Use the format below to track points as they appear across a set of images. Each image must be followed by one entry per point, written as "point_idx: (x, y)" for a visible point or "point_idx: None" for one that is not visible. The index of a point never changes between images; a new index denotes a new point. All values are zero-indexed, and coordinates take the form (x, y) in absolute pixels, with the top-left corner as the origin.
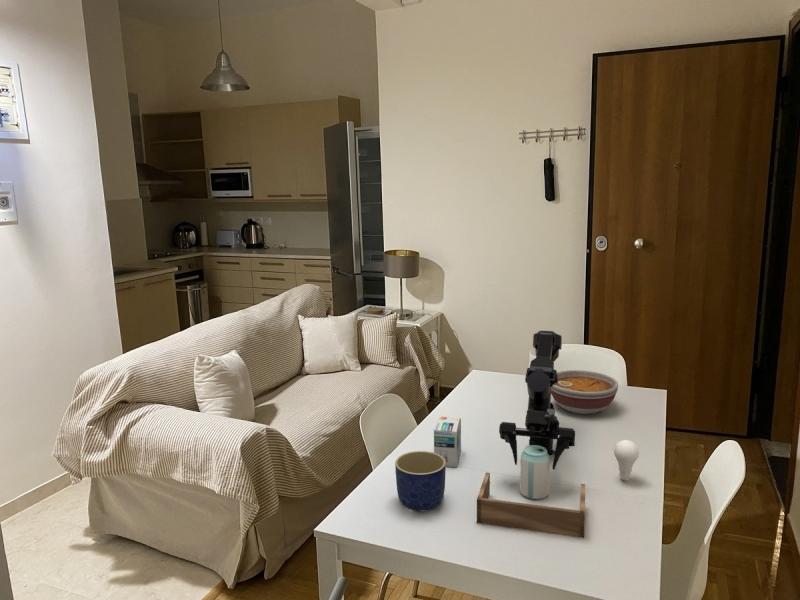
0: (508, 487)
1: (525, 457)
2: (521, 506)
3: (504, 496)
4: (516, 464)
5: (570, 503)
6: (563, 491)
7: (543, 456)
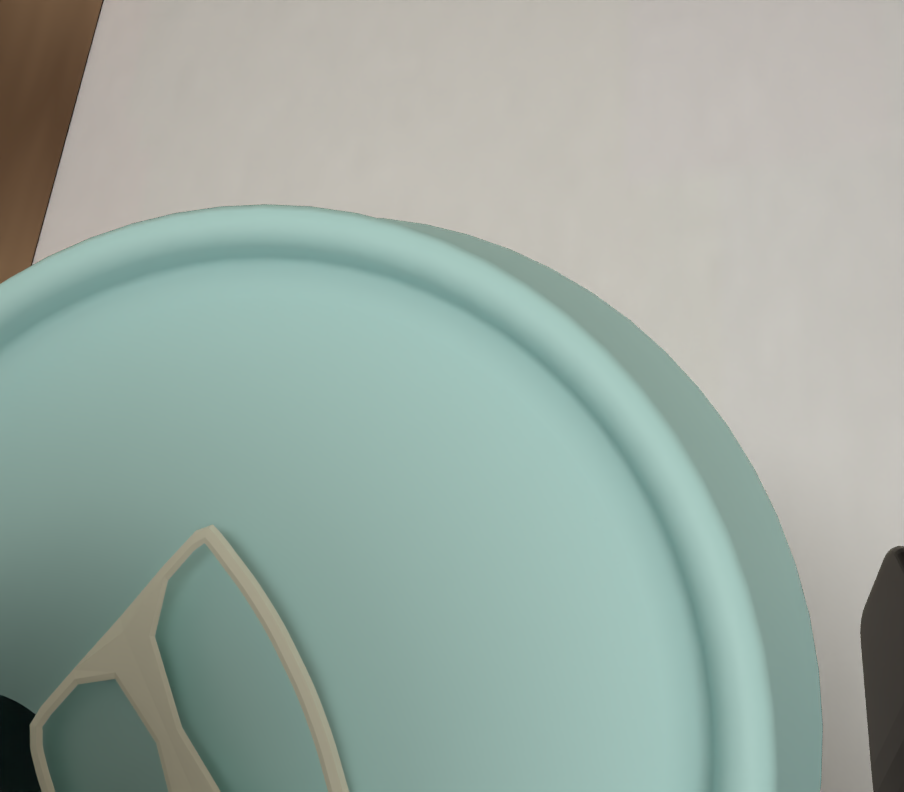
0: (840, 775)
1: (656, 381)
2: None
3: (884, 505)
4: (877, 575)
5: None
6: None
7: (6, 351)
